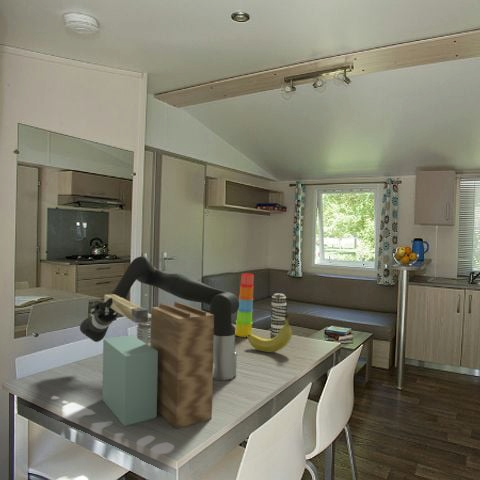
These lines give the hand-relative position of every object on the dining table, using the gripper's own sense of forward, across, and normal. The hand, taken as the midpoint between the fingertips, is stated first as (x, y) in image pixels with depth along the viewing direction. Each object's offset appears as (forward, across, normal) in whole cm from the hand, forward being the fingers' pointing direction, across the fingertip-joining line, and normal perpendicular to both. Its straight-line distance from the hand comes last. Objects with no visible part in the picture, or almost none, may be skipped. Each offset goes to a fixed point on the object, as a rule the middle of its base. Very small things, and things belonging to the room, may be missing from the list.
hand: (117, 300), depth 137 cm
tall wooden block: (+4, +13, +40) cm, 42 cm away
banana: (-26, +78, +23) cm, 85 cm away
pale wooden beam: (+5, 0, +6) cm, 8 cm away
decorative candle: (-38, +96, +16) cm, 105 cm away
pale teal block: (-5, 0, +35) cm, 35 cm away
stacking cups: (-54, +86, +8) cm, 102 cm away
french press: (-64, +33, +2) cm, 72 cm away
